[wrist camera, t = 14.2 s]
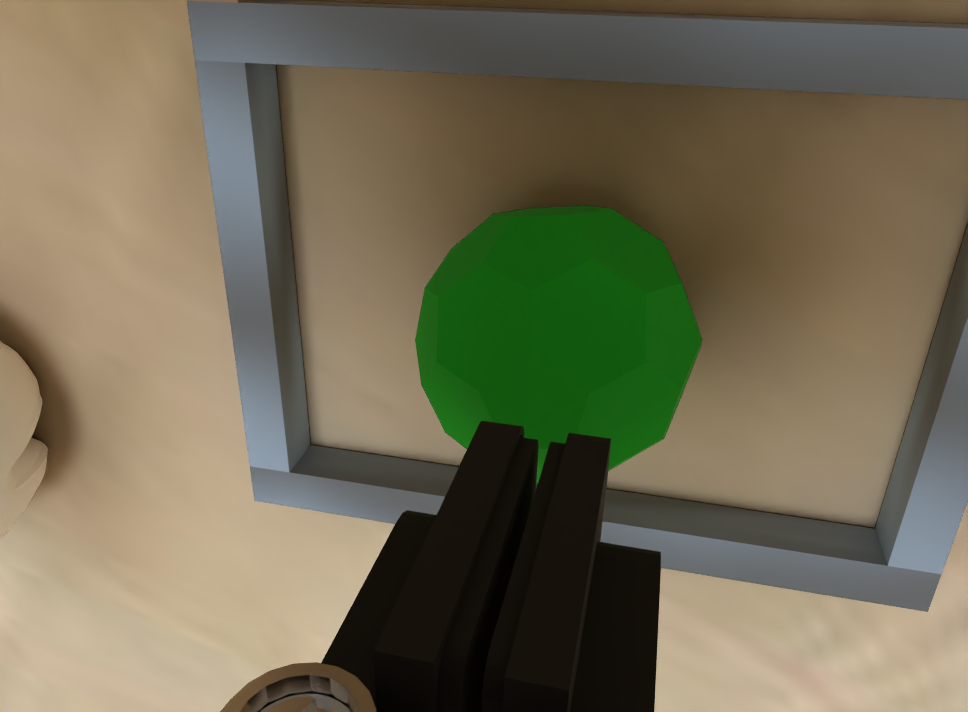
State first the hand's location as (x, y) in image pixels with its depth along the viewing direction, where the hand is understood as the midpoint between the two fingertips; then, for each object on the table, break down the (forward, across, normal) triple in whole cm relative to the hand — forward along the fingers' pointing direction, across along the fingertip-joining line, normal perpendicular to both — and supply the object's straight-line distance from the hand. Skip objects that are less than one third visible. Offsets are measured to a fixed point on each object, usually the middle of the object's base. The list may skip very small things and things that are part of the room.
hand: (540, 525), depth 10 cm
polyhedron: (+7, 0, 0) cm, 7 cm away
